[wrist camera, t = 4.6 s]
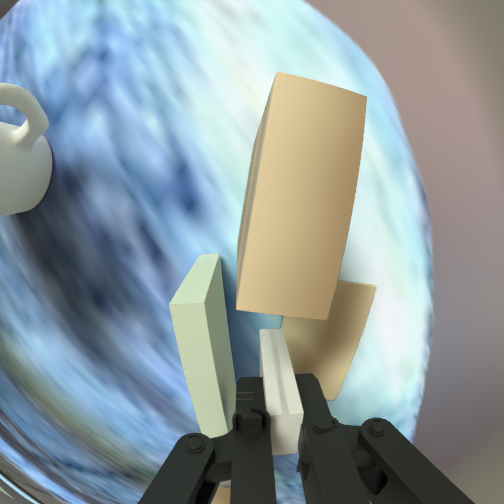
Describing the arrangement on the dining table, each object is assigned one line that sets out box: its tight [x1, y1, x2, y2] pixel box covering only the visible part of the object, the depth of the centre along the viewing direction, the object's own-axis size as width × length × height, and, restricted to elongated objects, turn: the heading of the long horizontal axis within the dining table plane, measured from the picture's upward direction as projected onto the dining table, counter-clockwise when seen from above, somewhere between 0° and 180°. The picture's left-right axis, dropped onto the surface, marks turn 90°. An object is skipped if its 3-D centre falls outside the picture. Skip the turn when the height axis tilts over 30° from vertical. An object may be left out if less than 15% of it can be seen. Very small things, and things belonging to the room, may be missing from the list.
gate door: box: [169, 253, 236, 488], centre depth 14 cm, size 12×1×8 cm, turn 4°
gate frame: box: [211, 72, 376, 504], centre depth 13 cm, size 10×25×10 cm, turn 171°
